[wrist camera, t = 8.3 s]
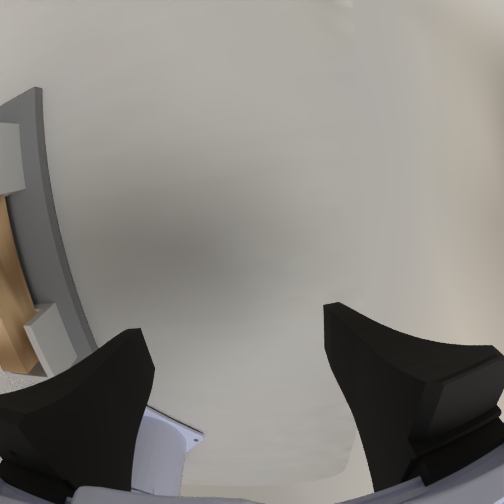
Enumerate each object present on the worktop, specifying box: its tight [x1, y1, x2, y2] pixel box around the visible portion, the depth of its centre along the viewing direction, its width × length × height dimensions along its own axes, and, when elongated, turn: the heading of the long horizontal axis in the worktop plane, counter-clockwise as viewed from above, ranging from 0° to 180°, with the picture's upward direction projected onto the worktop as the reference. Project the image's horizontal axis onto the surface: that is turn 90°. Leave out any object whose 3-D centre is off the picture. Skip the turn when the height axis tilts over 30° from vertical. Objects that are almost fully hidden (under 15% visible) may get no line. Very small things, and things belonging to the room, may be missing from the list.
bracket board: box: [0, 87, 98, 382], centre depth 17 cm, size 24×10×5 cm, turn 8°
